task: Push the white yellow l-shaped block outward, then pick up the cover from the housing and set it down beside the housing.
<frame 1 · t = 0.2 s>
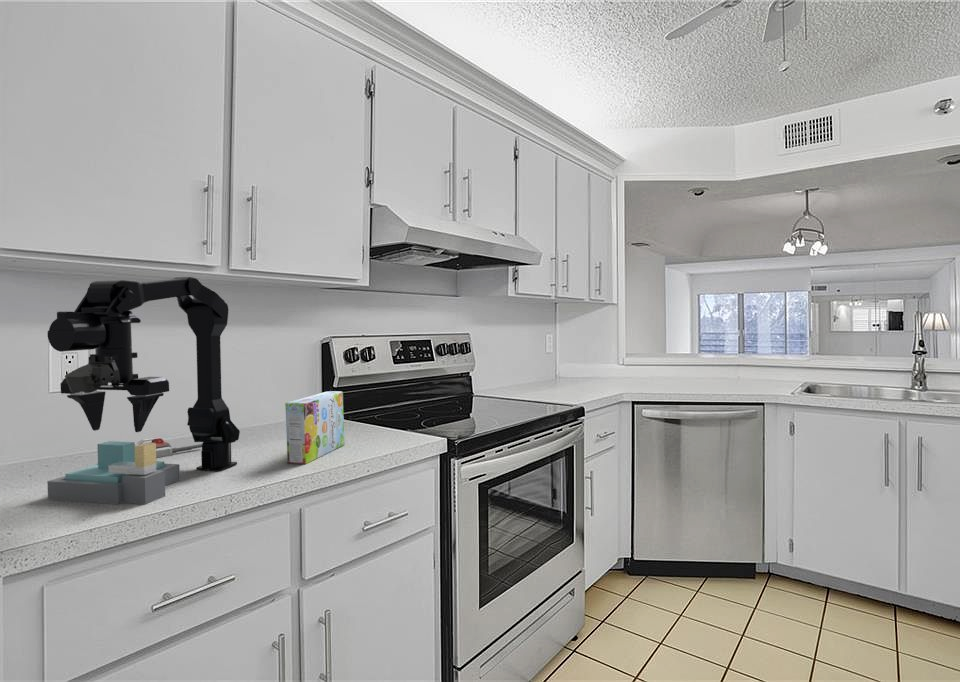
hand: (117, 431, 105), 14 cm above the worktop, fingers open, 9 cm apart
housing: (117, 489, 115), on the worktop
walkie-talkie: (157, 456, 145), on the worktop
snack box: (317, 454, 145), on the worktop
cover: (117, 479, 115), point 2 cm above the worktop, touching housing
white yellow l-shaped block: (132, 457, 109), point 8 cm above the worktop, slide at 0.0 cm
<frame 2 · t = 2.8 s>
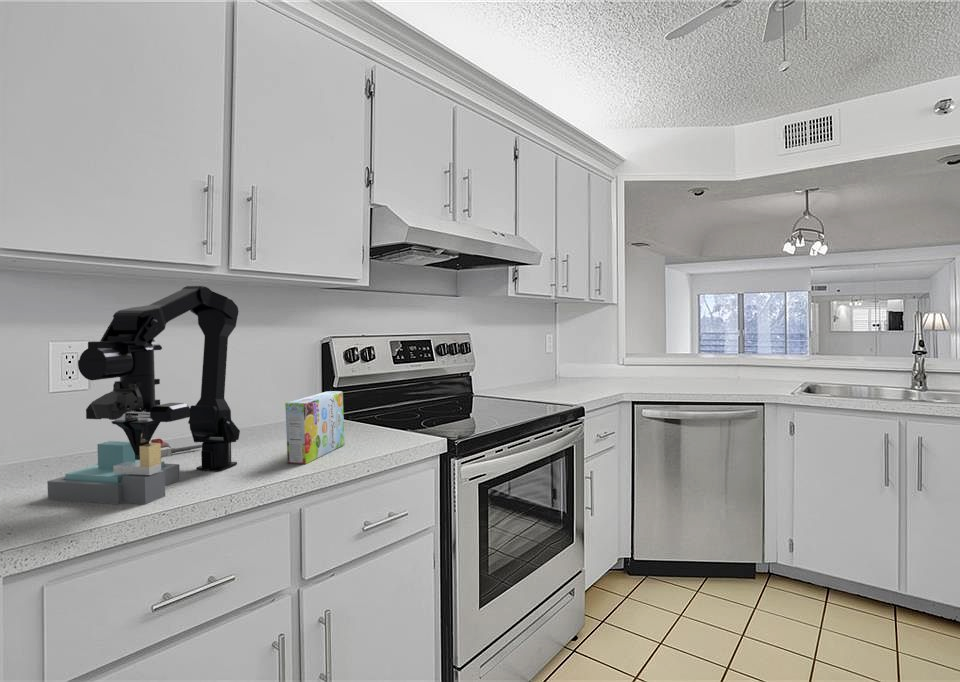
hand: (139, 455, 108), 9 cm above the worktop, fingers closed
white yellow l-shaped block: (137, 458, 108), point 8 cm above the worktop, slide at 1.1 cm, touching gripper
everything else where it was.
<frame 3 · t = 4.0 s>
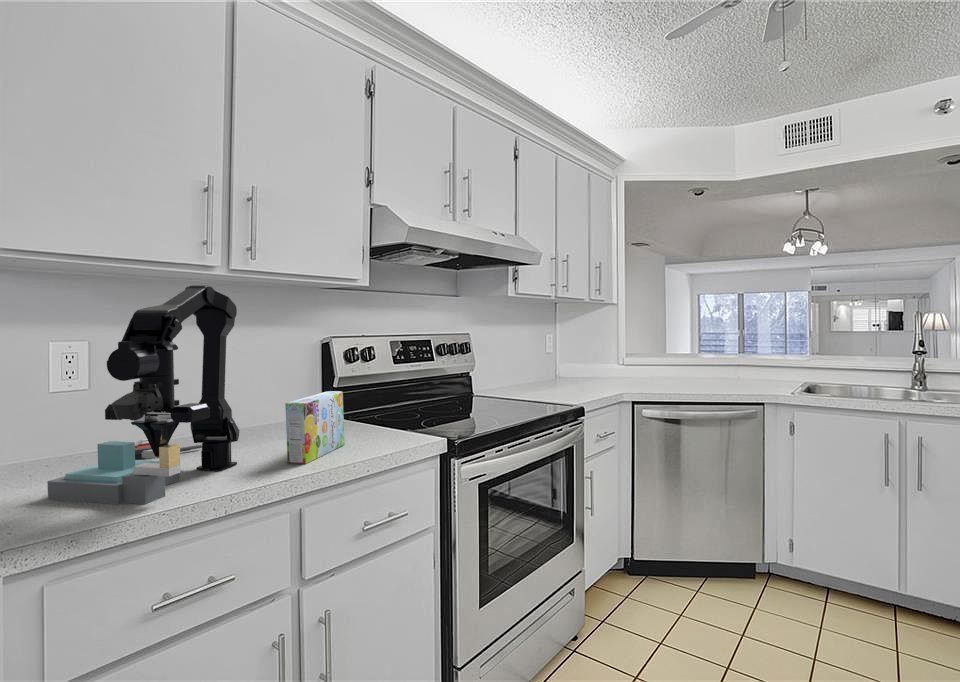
hand: (158, 456, 107), 9 cm above the worktop, fingers closed
white yellow l-shaped block: (156, 459, 108), point 8 cm above the worktop, slide at 5.4 cm, touching gripper
everything else where it was.
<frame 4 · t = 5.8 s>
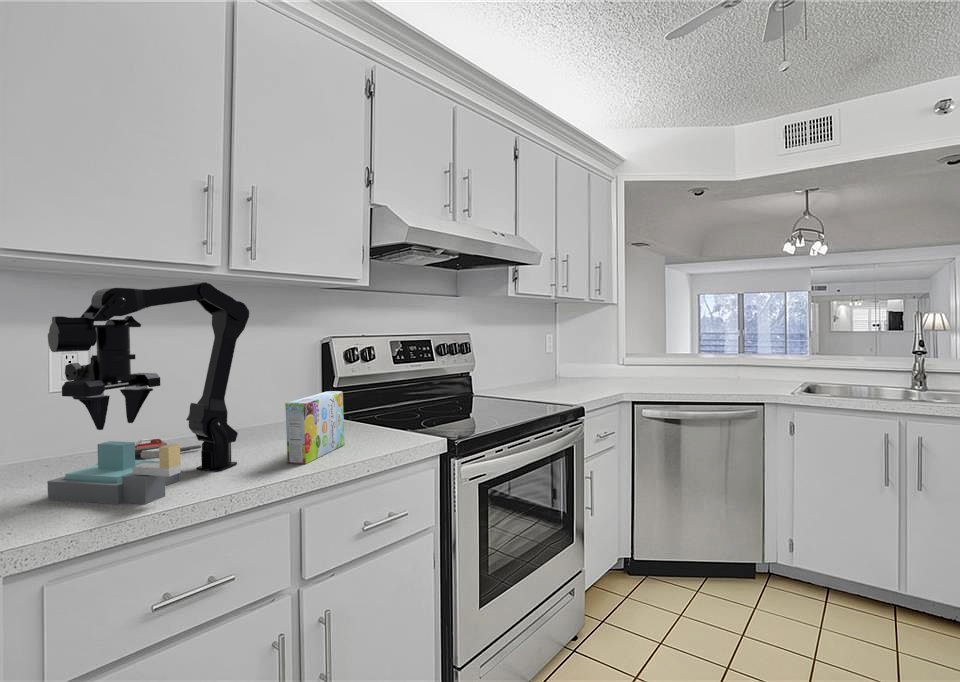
hand: (115, 426, 114), 13 cm above the worktop, fingers open, 7 cm apart
white yellow l-shaped block: (156, 459, 107), point 8 cm above the worktop, slide at 5.4 cm
everything else where it was.
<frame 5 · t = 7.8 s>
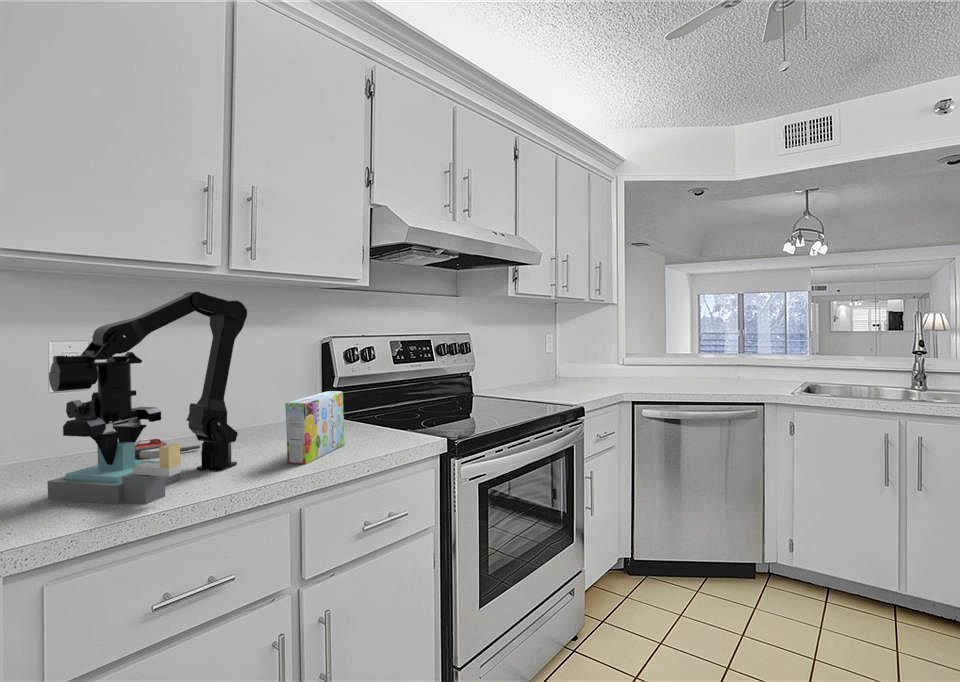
hand: (116, 462, 115), 6 cm above the worktop, fingers closed on cover, 3 cm apart
cover: (117, 479, 115), point 2 cm above the worktop, touching gripper, housing
everything else where it was.
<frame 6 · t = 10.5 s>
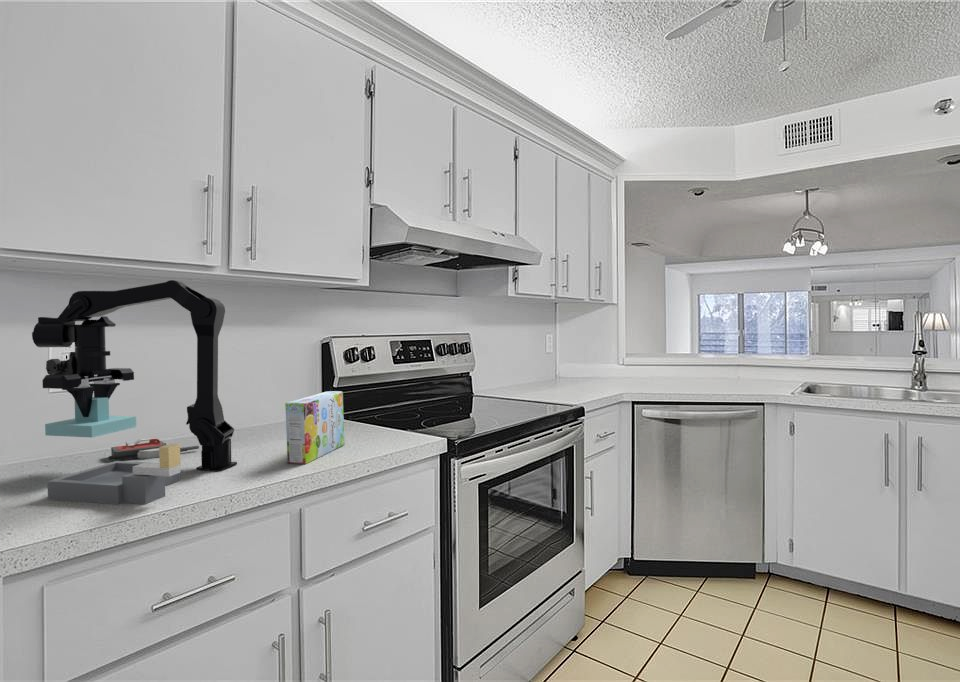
hand: (92, 415, 127), 13 cm above the worktop, fingers closed on cover, 3 cm apart
cover: (92, 431, 127), point 9 cm above the worktop, touching gripper
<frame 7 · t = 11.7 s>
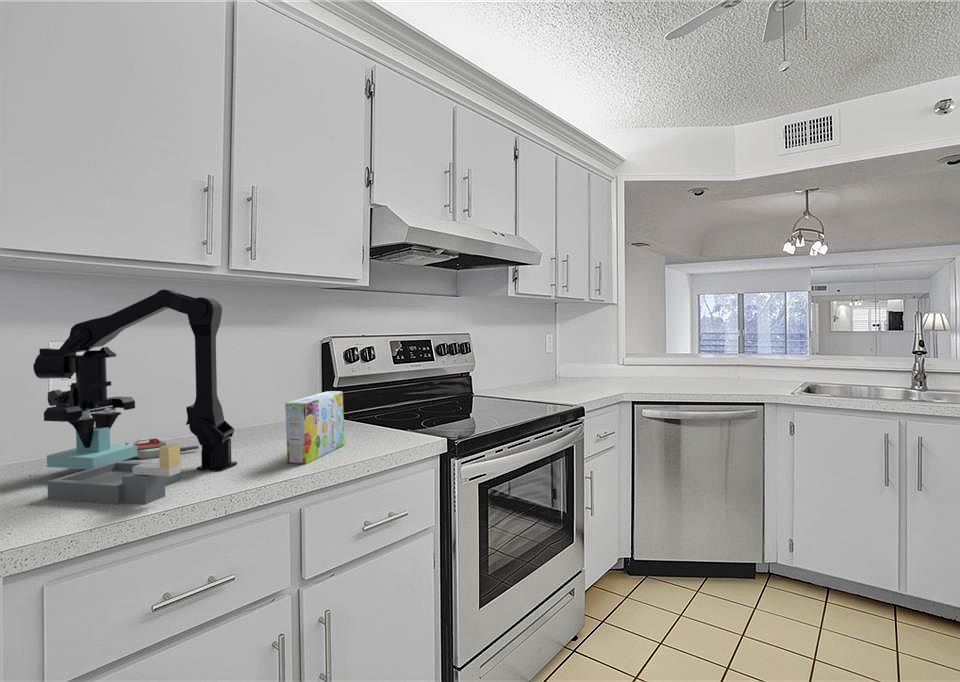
hand: (93, 446, 128), 6 cm above the worktop, fingers closed on cover, 3 cm apart
cover: (93, 461, 128), point 3 cm above the worktop, touching gripper
everything else where it was.
when the fingers open (5 cm above the worktop, at t = 12.2 s): cover drops 2 cm, on the worktop.
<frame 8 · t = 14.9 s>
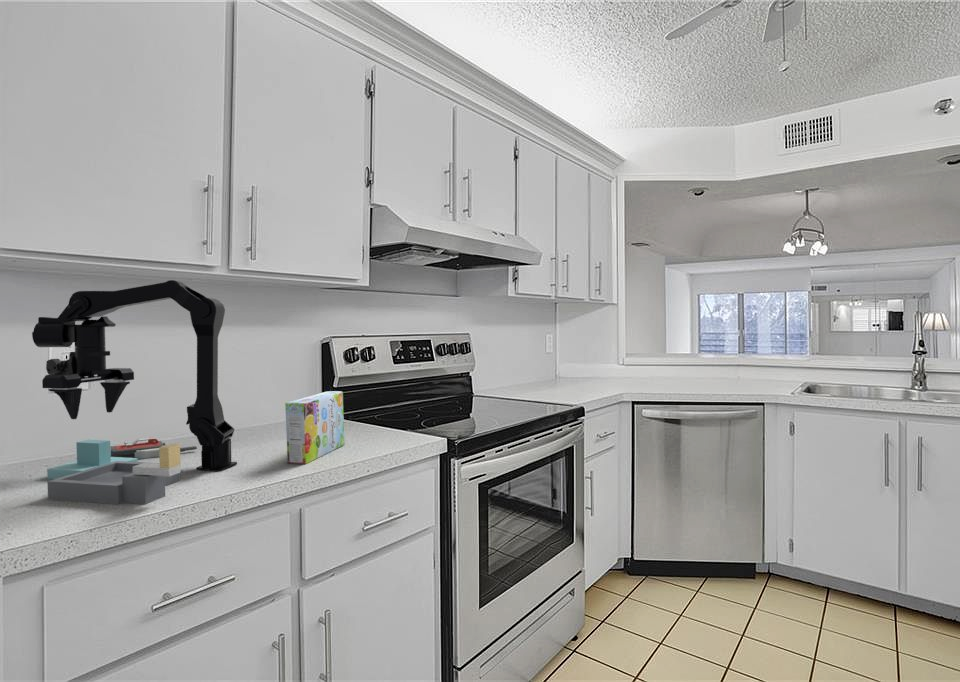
hand: (92, 415, 127), 13 cm above the worktop, fingers open, 9 cm apart
cover: (94, 474, 128), on the worktop
at the end: white yellow l-shaped block slide at 5.4 cm; cover inside the target area (0.0 cm from its centre), on the worktop; cover tilted 0° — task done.
